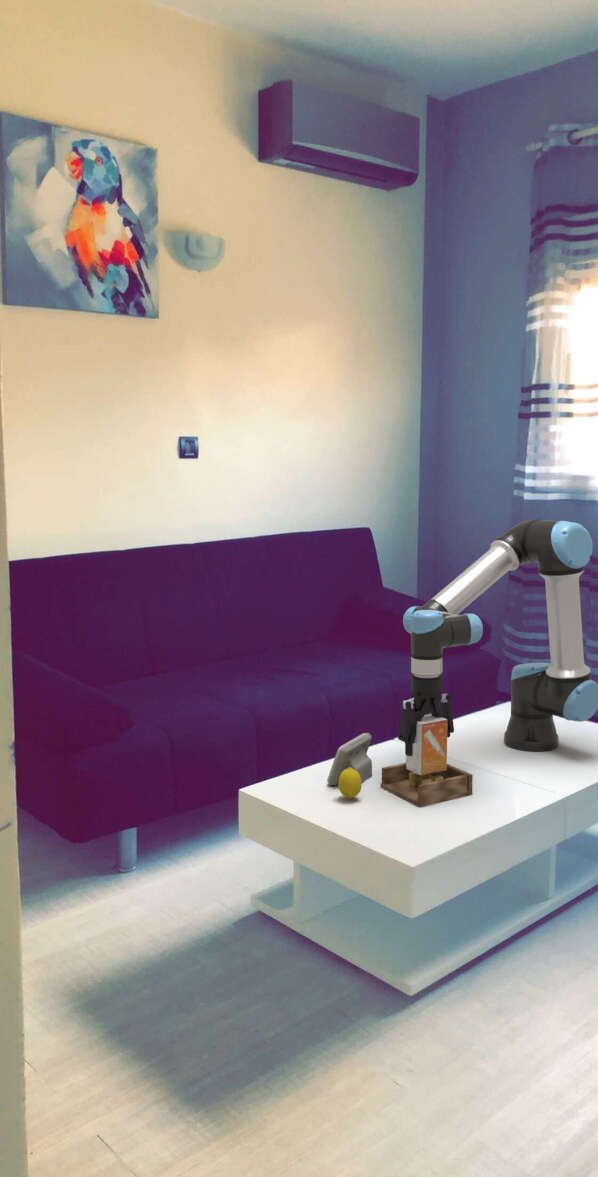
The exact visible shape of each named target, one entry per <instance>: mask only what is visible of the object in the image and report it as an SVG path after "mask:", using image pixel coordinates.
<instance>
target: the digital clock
mask: <svg viewBox="0 0 598 1177" xmlns="http://www.w3.org/2000/svg"><path fill="white" fill-rule="evenodd" d="M372 740H373V739H372V735H371V733H369V732H365V733H364V732H363V733H361V734H359V735H358V736H356V737H354V738H353V739H351V740H349V741H347V742H346V743H344V744H342V745H341V746H340V747H338V749H337V751H336V753H335V757H334V760H333V763H332V765H331V768H330V771H329V774H328V777H327V783H328V786H331V785H335V786H337V785H339V777H340V774H341V773H342V772H343V771H344V770H345V769H348V768H349V767H351V768H352V769H354V770H356V771H357V772H358V773H359V774H360V777H361V783H364V782H365V781H366V780H368V779H370V778H371V777H372V776H373V762H372V759H371V758H370V757H369V756H368V754H367V752H368V751H369V747H370V745H371V742H372ZM363 781H364V782H363Z"/></svg>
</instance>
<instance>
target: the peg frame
mask: <svg viewBox="0 0 598 1177" xmlns="http://www.w3.org/2000/svg"><path fill="white" fill-rule="evenodd" d="M473 777H474V775H473V774H471V773H469V772H467V771H465V770H463V769H460V768H457V767H455V766H453V765H451V764H448V763H447V770H445V771H440V772H434V773H430V774H425V775H419V774H416V773H414V772H412V771H410V770H408V769H406V762H403V763H399V764H394V765H389V766H384V767H381V783H380V784H379V785H380V788H381V789H382V790H385V791H386V792H388V793H391V794H392V795H395V796H396V797H398V798H400V799H402V800H405V801H407V802H408V803H411V805H414V806H416V807H418V808H423V807H427V806H432V805H434V804H435V805H436V804H439V803H443V802H444V803H445V802H447V801H451V800H456V799H461V798H464V797H469V796H472V795H473V783H474V782H473V779H474V778H473Z"/></svg>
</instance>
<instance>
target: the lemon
mask: <svg viewBox="0 0 598 1177" xmlns="http://www.w3.org/2000/svg"><path fill="white" fill-rule="evenodd" d="M362 783H363V782H362ZM362 783H361V777H360V774H359V773H358V772H357V771H356V770H354V769H352V768H351V767H349V768H348V769H345V770H344V771H343V772H342V773H341V774H340V777H339V784H338V789H339V791H340V794H342V796H343V797H345V798H347V799H348V800H349V799H351V800H352V799H353V798H355V797H357V796H358V795H359V794H360V792H361V790H362Z"/></svg>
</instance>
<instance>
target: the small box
mask: <svg viewBox="0 0 598 1177" xmlns="http://www.w3.org/2000/svg"><path fill="white" fill-rule="evenodd" d="M447 725H448V719H445V718H443V716H442V718H437V717H434V716H432V714H431V713H428V714H425V715H424V717H423V718H422V719H421V721H419V722H417V732H416V737H415V740H414V742H415V743H417V759H416V769H415V770H413V769H411V768H409V767H407V755H406V754H405V757H406V758H405V763H406V769H408V770H410V771H412V772H414V773H416V774H419V775H425V774H430V773H434V772H440V771H445V770H447V764H448V737H447Z"/></svg>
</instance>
